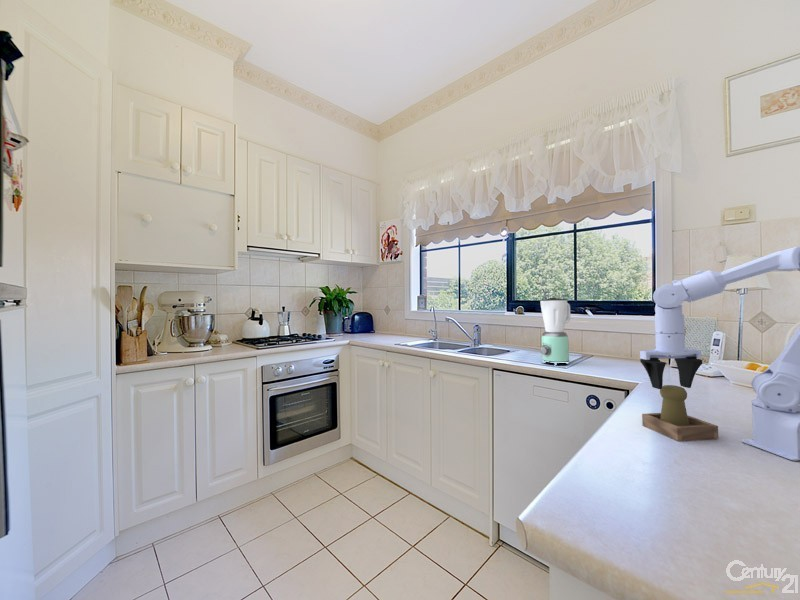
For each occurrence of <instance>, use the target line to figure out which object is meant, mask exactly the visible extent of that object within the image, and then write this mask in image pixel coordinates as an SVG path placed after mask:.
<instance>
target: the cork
mask: <svg viewBox="0 0 800 600" xmlns="http://www.w3.org/2000/svg"><path fill="white" fill-rule="evenodd" d="M659 394H660V396H661V399H662V402H661V410H660V413H661V417H660V419H661V420H663V421H666V422H668V423H671V424H673V425H676V426H689V421H688V417H687V415H688V412H687V408H686V402H685V400H686V399H687V398H688V393H687V390H686V389H685V387H683V386H678V385H674V384H663V385H662V389H659Z"/></svg>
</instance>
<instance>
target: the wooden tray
mask: <svg viewBox="0 0 800 600" xmlns="http://www.w3.org/2000/svg"><path fill="white" fill-rule="evenodd" d="M641 416H642V418H641V420H642V421H641V423H642V426H643V427H645V428H646V429H647V428H648V429H649V430H652V431H655V432H656V433H659V434H660V435H663V436H665V437H668V438H669V437H670V438H669V439H672V440H674V441H677V442H687V441H705V440H709V441H710V440H719V426H718V425H716V424H714V423H710V422H708V421H705V420H701V419H699V418H696V417H694V416H690V415H688V414H687V417H688V421H689V426H676V425H673V424H671V423H668V422H666V421H663V420H661V419H660V417H661V412H656V413H655V412H652V413H642V414H641Z"/></svg>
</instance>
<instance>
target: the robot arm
mask: <svg viewBox="0 0 800 600" xmlns="http://www.w3.org/2000/svg"><path fill="white" fill-rule="evenodd" d="M796 270H797V271H798V272H800V245H799V246H795V247H791V248H786V249H782V250H778V251H776V252H772V253H769V254H767V255H764V256H762V257H759V258H755V259H754V260H750V261H748V262H744V263H742V264H740V265H737V266H734V267H732V268H728V269H725V270H723V271H720V272H719V271H714V270H711V269H708V270H706V271H703V270H702V269H701V270H698V271H695V274H694V275H691V276H688V277H685V278H683V279H681V280H677V279H674V280H672V281H671V283H672V284H670V283H666V284H663V285H662V286H659V287H658V288H656V289H655V291H654V292H653V296H652V299H653V302H654V303H655V304H656V305H655V307H654V312H655V314H654V335H655V338H654V340H655V341H654V342H655V348H653V349H649V350H639V360H640V363H641V365H642V366H643V368H644V369H645V371H646V374H647V375H648V377H649V380H650V383H651V387H652V388H653V389H657V390H660V389H662V386H664V384H663V381H664V379H663V378H664V377H663V376H664V371H665V367H666V365H667V363H666V362H665V361H661V360H663V359H667V360H668V359H674V361H675V363H676V366H677V370H678V379H679V385H680V387H682V388H686V389H691V387H692V384H693V381H694V378H695V375H696V373H697V372H698V370H699V369H700V367H701V365H702V364H703V359H702V350H700V349H690V348H689V349H686V339H685V338H686V334H685V333H686V332H685V315H684V313H683V305H682V304H683V303H684V302H687V303H692V302H696V301H699V300H702V299H704V298H705V299H706V298H708V297H711V296H715V295H718V294H721V293H723V292H724V290H725V289H726V287H727V285H729V284H733V283H736V282H740V281H743V280H746V279H749V278H754V277H756V276H759V275H760V276H761V275H763V274H766V273H769V272H774V271H778V272H779V271H780V272H792V271H796ZM751 388H752V390H753V391H754V392H755V393H756V397H755V398H754V399H753V400H751V414H752V415H751V416H752V417H751V418H752V419H751V420H752V438H742V439H741V440H740V441H741V442H742V443H745V444H746V445H750V446H752V447H755V448H757V449H761V450H763V451H765V452H769V453H771V454H774V455H777V456H780V457H782V458H785V459H787V460H790V461H794V462H795V461H800V324H799V326H797V329H796V330H795V332H794V333H793V334H792V336H791V337H790V339H789V340H788V342H787V343H786V345H785V346H784V348H783V349H782V350H781V352H780V353H779V354H778V356H777V358H776V359H775V360H774V361H773V362H771V363H770V364H769V365H768V366H767V368H766V369H765V370H764V371H763V372H761V373H758V374H756V375H755V376H754V377H753V378H752V379H751Z"/></svg>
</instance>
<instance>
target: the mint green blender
mask: <svg viewBox="0 0 800 600" xmlns="http://www.w3.org/2000/svg"><path fill="white" fill-rule="evenodd" d="M539 302H540V308H541V309H540V311H541V315H542V320H543V321H542V322H543V326H544V330H545V331H544V332H543V333H542V334H541V347H540V354H541V361H542V360H544V361H549V362H569V363H570V347H569V346H570V345H569V336H568V334H567V333H566V332H564V331H565V325H566V324H567V323H569V322H570V320H571V304H570V303H568V299H567V298H564V299H563V298H557V297H550V298H546V299H540V300H539Z"/></svg>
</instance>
